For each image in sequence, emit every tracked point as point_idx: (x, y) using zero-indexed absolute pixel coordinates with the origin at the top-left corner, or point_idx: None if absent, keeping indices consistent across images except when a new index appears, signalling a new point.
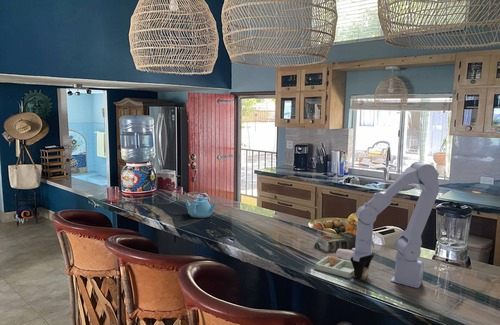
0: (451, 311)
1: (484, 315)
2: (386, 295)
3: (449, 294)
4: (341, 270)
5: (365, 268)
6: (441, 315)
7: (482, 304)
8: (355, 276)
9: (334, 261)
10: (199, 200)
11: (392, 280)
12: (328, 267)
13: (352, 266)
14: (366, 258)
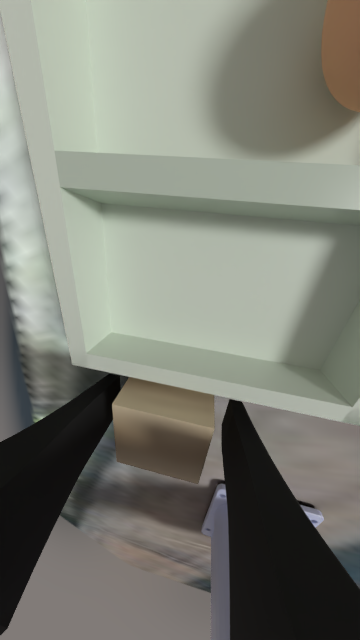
0: (110, 534)
1: (136, 562)
2: None
3: (209, 561)
4: (62, 289)
5: (178, 467)
6: (76, 518)
7: (189, 578)
8: (105, 378)
9: (355, 30)
10: None
11: (219, 492)
12: (21, 90)
13: (355, 328)
14: (246, 621)
